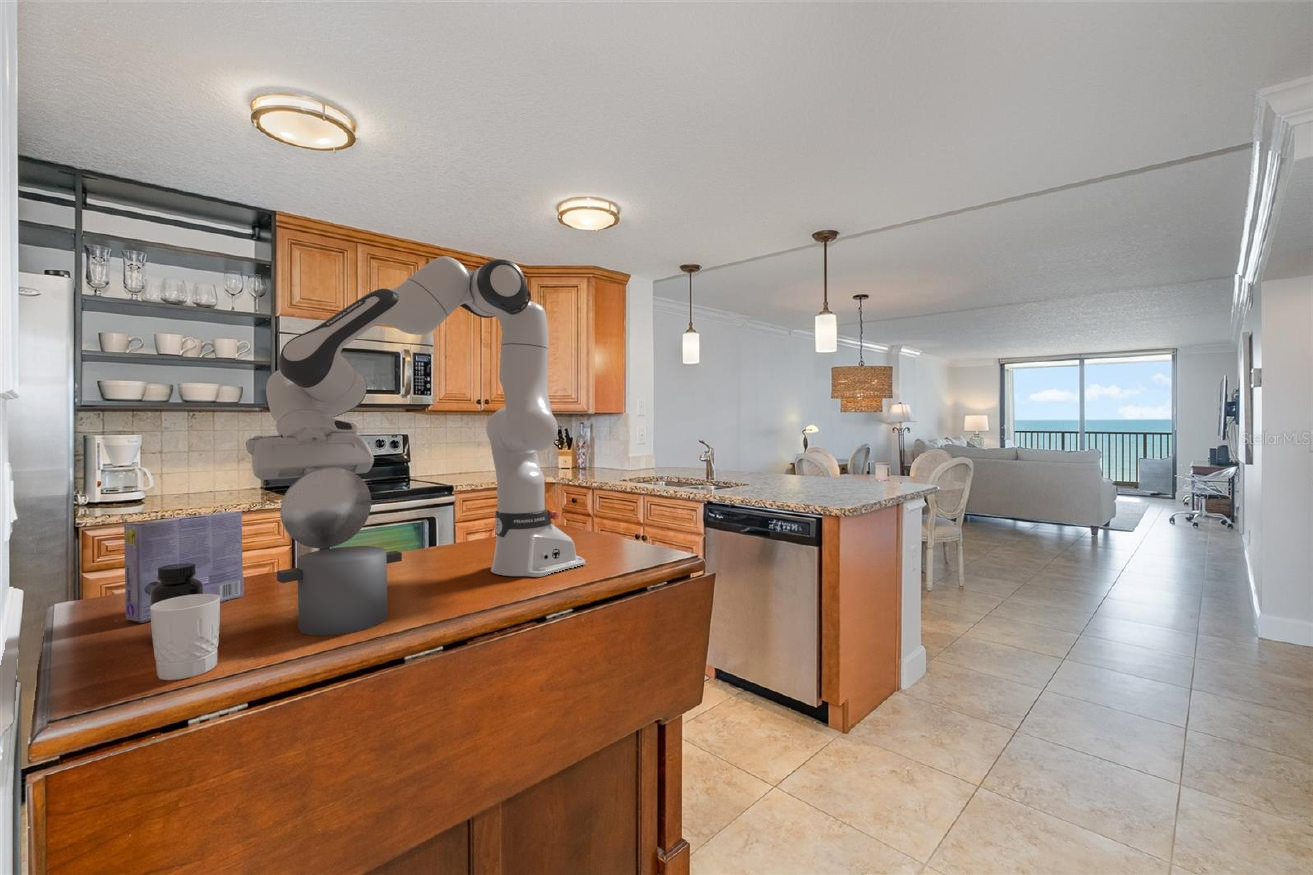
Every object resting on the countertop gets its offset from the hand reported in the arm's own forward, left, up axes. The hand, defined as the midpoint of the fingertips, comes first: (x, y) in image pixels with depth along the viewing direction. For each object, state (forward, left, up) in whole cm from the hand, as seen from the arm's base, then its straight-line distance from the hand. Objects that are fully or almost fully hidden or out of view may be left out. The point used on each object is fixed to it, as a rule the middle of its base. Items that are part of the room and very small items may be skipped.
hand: (326, 490), depth 110 cm
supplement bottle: (+22, -1, -23) cm, 32 cm away
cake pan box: (+20, -20, -23) cm, 37 cm away
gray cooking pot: (-1, +7, -23) cm, 24 cm away
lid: (0, +2, -3) cm, 4 cm away
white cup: (+21, +16, -23) cm, 35 cm away
